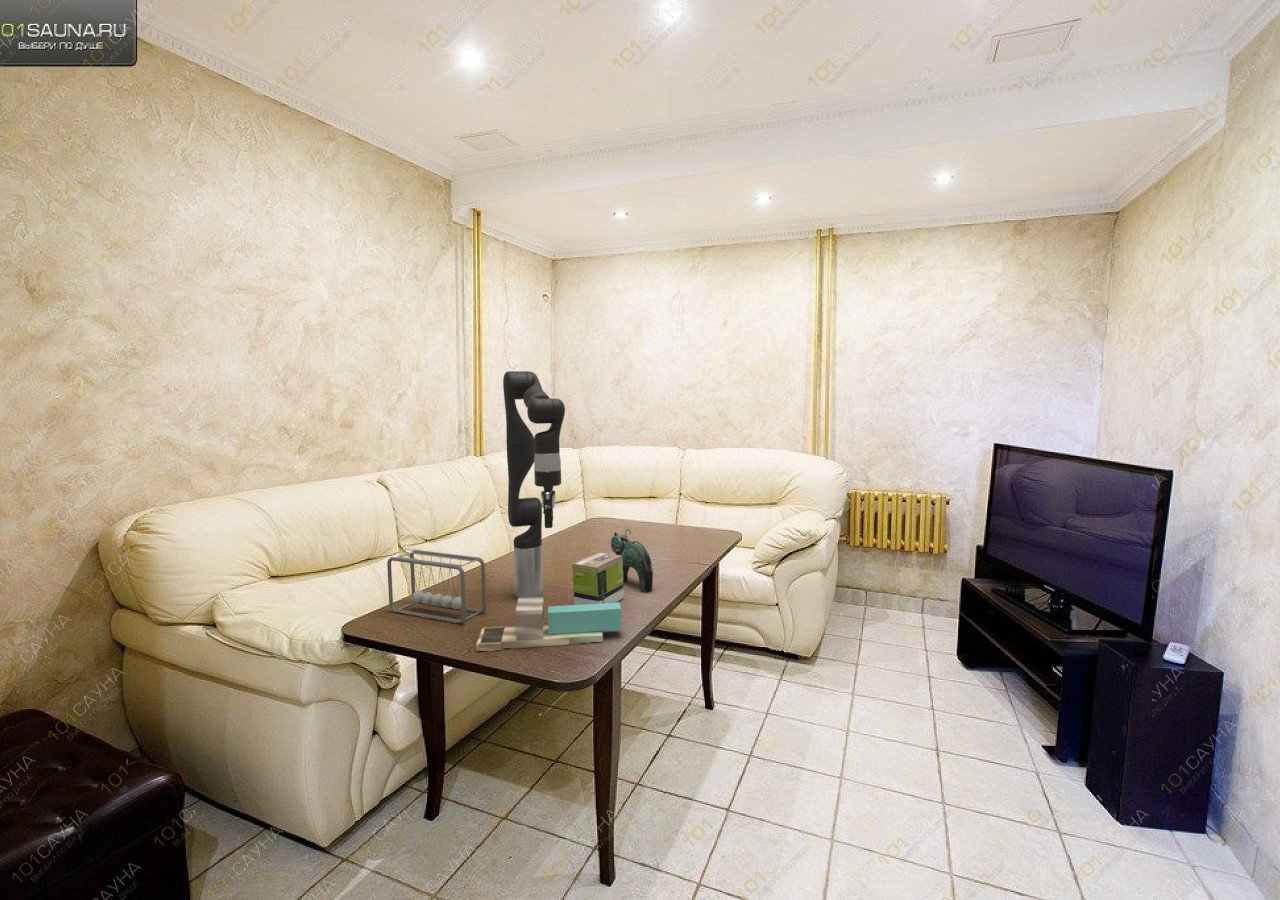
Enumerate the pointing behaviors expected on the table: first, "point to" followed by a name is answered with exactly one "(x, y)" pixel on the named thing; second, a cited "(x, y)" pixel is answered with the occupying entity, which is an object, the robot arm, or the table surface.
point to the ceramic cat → (634, 559)
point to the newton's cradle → (438, 598)
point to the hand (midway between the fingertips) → (549, 524)
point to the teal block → (584, 618)
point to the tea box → (598, 579)
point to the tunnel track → (530, 631)
